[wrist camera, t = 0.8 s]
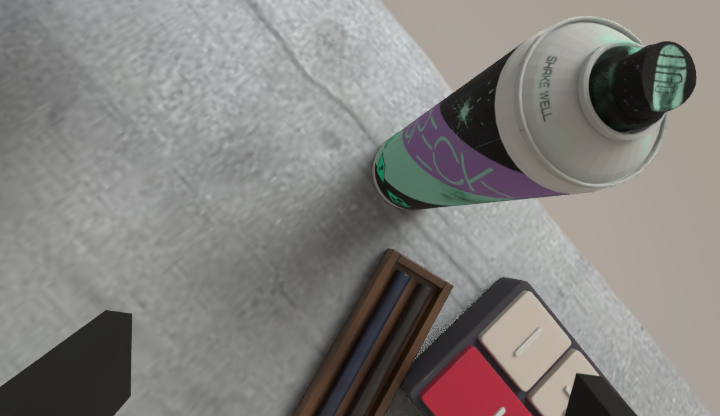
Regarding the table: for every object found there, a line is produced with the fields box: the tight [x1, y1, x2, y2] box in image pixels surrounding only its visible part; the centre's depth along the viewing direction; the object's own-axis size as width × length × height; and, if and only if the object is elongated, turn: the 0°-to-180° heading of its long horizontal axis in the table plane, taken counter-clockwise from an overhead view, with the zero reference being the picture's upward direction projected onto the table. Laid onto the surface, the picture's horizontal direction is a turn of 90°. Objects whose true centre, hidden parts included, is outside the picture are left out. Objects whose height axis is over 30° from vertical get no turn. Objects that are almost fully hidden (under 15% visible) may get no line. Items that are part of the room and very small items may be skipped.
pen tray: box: [293, 248, 453, 416], centre depth 28 cm, size 14×5×2 cm, turn 149°
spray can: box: [372, 16, 696, 210], centre depth 20 cm, size 6×6×20 cm
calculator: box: [400, 277, 628, 416], centre depth 29 cm, size 11×4×15 cm
